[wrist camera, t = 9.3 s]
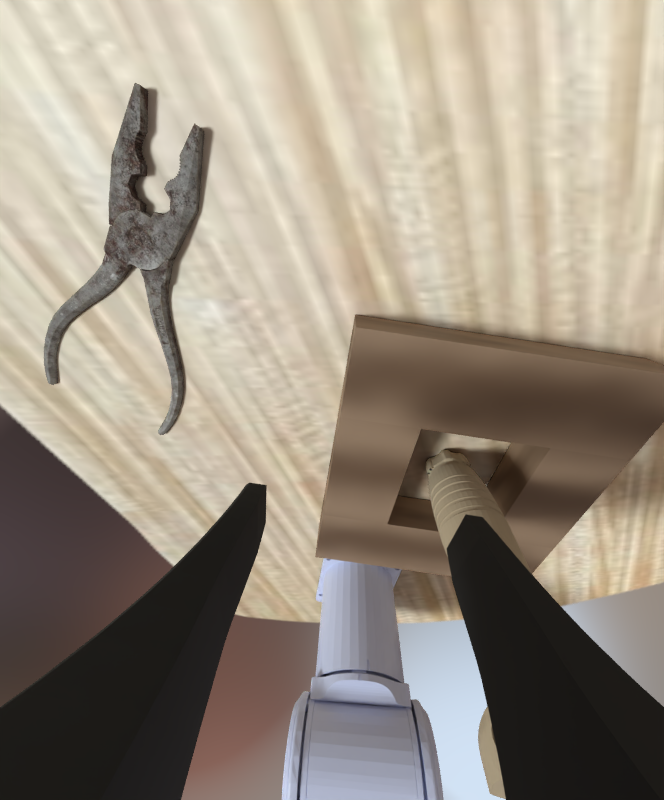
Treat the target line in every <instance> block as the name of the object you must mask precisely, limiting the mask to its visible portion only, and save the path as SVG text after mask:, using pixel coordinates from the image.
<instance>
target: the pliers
mask: <svg viewBox="0 0 664 800" xmlns="http://www.w3.org/2000/svg"><path fill="white" fill-rule="evenodd" d="M147 110H148V91H147V90H146V89H145V88H143V87H142V86H141V85H139V84H137V83H135V84H134V87H133V90H132V94H131V97H130V100H129V103H128V106H127V109H126V113H125V116H124V119H123V122H122V125H121V129H120V132H119V135H118V138H117V141H116V144H115V148H114V151H113V154H112V163H111V178H110V193H109V224H110V225H112V226H110V227H109V231H108V235H107V239H106V242H105V246H104V251H105V252H106V253H105V256H104V260H103V263H102V265H101V266H100V268H99V269H98V270H97V272H96V273H95V274H94V275H93V277H92V278H91V279H90V280H89V281H88V282H87V283H86V284H85V285H84V286H83V287H82V288H80V289H79V290H78V291H77V292H76V293H75V294H74V295H73V296H72V297H71V298H70V299H69V300H68V301H66V302H65V303H64V304H63V305H62V306H61V307H60V309H59V310H58V311H57V312H56V313H55V315H54V316H53V318H52V320H51V322H50V324H49V326H48V330H47V334H46V338H45V346H44V366H45V372H46V377H47V380H48V383H49V384H52V385H54V384H56V383H57V382H58V377H57V368H56V353H57V349H58V344H59V341H60V338H61V335H62V333H63V331H64V330H65V328H66V327H67V325H68V324H69V323H70V322H71V321H72V320H73V319H74V318H75V317H77V316H78V315H79V314H81V313H82V312H83V311H84V310H86V309H87V308H89V307H90V306H91V305H93V304H94V303H96V302H97V301H99V300H100V299H102V298H103V297H105V296H106V295H107V294H109V293H110V292H111V291H112V290H114V289H115V288H116V286H117V285H118V284H119V283H120V282H121V281H122V280H123V279H124V277H125V276H126V275H127V273H128V272H129V271H130V270H131V268H132V265H134V266H136V267H137V268H139V269H140V270H141V273H142V276H143V278H144V282H145V287H146V292H147V297H148V302H149V307H150V312H151V315H152V319H153V322H154V325H155V328H156V331H157V334H158V337H159V339H160V342H161V345H162V349H163V352H164V355H165V358H166V361H167V365H168V368H169V372H170V376H171V384H172V396H171V403H170V408H169V412H168V414H167V416H166V419H165V420H164V422H163V423H162V425H161V427H160V428H159V430H158V433H159V434H160V435H164V434H165V433H166V432H167V431H168V430H169V429H170V427H171V426H172V425H173V423H174V421H175V419H176V417H177V415H178V413H179V410H180V406H181V403H182V397H183V373H182V366H181V362H180V357H179V353H178V349H177V345H176V340H175V336H174V332H173V328H172V323H171V317H170V311H169V303H168V293H169V284H170V277H171V271H172V265H173V259H175V257H176V255H177V253H178V251H179V249H180V247H181V245H182V243H183V241H184V239H185V237H186V235H187V233H188V230H189V228H190V226H191V224H192V222H193V220H194V218H195V216H196V214H197V212H198V209H199V195H200V181H201V167H202V153H203V139H204V131H203V130H202V129H201V128H200V127H199V126H197V125H196V124H195V123H194V126H193V128H192V130H191V132H190V134H189V136H188V139H187V141H186V143H185V145H184V147H183V149H182V152H181V154H180V161H181V162H180V169H179V170H180V171H179V174H177V176H176V178H174V179H172V180H170V181H168V182H167V184H166V186H165V188H164V189H165V191H166V193H167V195H168V196H169V198H170V211H168V212H167V213H165V214H161V213H156V212H153V215H152V216H151V215H150V214H148V213H146V204H145V203H144V202H143V201H142V200H141V199H140V198H139V197H138V195H137V192H136V189H135V186H134V185H135V183H136V180H137V178H138V177H141V176H147V165H146V164H145V163H146V162H145V161H144V158H143V155H142V153H143V152H142V151H141V150H142V148H141V147H142V145H141V144H143V143H142V141H143V139H144V136H146V134H147ZM140 211H141V212H140Z"/></svg>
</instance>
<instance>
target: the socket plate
mask: <svg viewBox="0 0 664 800" xmlns="http://www.w3.org/2000/svg"><path fill="white" fill-rule="evenodd" d="M663 422H664V365H662V364H659V363H657V362H654V361H651V360H649V359H645V358H638V357H632V356H625V355H618V354H612V353H605V352H599V351H592V350H585V349H579V348H572V347H566V346H559V345H552V344H546V343H539V342H532V341H526V340H519V339H513V338H506V337H499V336H493V335H486V334H480V333H473V332H466V331H460V330H453V329H446V328H440V327H433V326H427V325H420V324H413V323H407V322H400V321H394V320H387V319H380V318H374V317H367V316H361V315H355V319H354V325H353V331H352V337H351V343H350V348H349V354H348V360H347V366H346V372H345V378H344V384H343V389H342V395H341V401H340V407H339V413H338V419H337V425H336V430H335V436H334V442H333V448H332V454H331V460H330V465H329V471H328V477H327V483H326V489H325V495H324V501H323V506H322V512H321V518H320V524H319V531H318V540H317V548H316V556H315V557H319V558H326V559H333V560H340V561H347V562H354V563H361V564H368V565H375V566H382V567H389V568H396V569H402V570H409V571H416V572H423V573H430V574H437V575H444V576H451V572H450V567H449V561H448V557H447V554H446V552H445V549H444V546H443V544H442V541H441V538H440V535H439V531H438V528H437V525H436V521H435V517H434V513H433V509H432V505H431V501H429V500H423V499H416V498H409V497H402V496H397V495H398V493H399V490H400V487H401V484H402V481H403V479H404V476H405V473H406V470H407V467H408V465H409V462H410V459H411V456H412V453H413V451H414V448H415V445H416V442H417V439H418V437H419V434H420V431H421V429H424V430H431V431H438V432H445V433H451V434H458V435H465V436H472V437H478V438H485V439H492V440H499V441H505V442H512V443H511V445H510V446H509V448H508V450H507V452H506V453H505V455H504V457H503V459H502V460H501V462H500V464H499V466H498V467H497V469H496V471H495V473H494V474H493V476H492V478H491V480H490V481H489V483H488V485H487V488H488V490H489V492H490V493H491V494H492V496H493V497H494V499H495V501H496V503H497V504H498V506H499V508H500V510H501V511H502V513H503V515H504V517H505V519H506V520H507V522H508V524H509V526H510V528H511V530H512V533H513V535H514V537H515V539H516V541H517V543H518V545H519V547H520V549H521V552H522V554H523V556H524V558H525V560H526V562H527V564H528V566H529V568H530V570H531V573H533V572H534V571H535V569H536V568H537V567H538V566H539V565H540V564H541V563H542V561H543V560H544V559H545V558H546V557H547V556H548V555H549V553H550V552H551V551H552V550H553V549H554V548H555V546H556V545H557V544H558V543H559V542H560V541H561V540H562V538H563V537H564V536H565V535H566V534H567V533H568V532H569V530H570V529H571V528H572V527H573V526H574V525H575V523H576V522H577V521H578V520H579V519H580V518H581V517H582V515H583V514H584V513H585V512H586V511H587V510H588V508H589V507H590V506H591V505H592V504H593V503H594V502H595V500H596V499H597V498H598V497H599V496H600V495H601V494H602V492H603V491H604V490H605V489H606V488H607V487H608V485H609V484H610V483H611V482H612V481H613V480H614V479H615V477H616V476H617V475H618V474H619V473H620V472H621V471H622V469H623V468H624V467H625V466H626V465H627V464H628V462H629V461H630V460H631V459H632V458H633V457H634V456H635V454H636V453H637V452H638V451H639V450H640V449H641V448H642V446H643V445H644V444H645V443H646V442H647V441H648V439H649V438H650V437H651V436H652V435H653V434H654V433H655V431H656V430H657V429H658V428H659V427H660V426H661V425H662V423H663Z"/></svg>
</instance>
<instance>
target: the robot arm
mask: <svg viewBox="0 0 664 800" xmlns="http://www.w3.org/2000/svg"><path fill="white" fill-rule="evenodd" d="M265 523H266V485H261V484H254V483H248V484H247V485H246V486H245V487H244V489H243V490H242V491H241V493H240V494H239V495H238V497H237V498H236V499H235V500H234V502H233V503H232V504H231V505H230V507H229V508H228V509H227V510H226V511H225V513H224V514H223V515H222V516H221V517H220V518H219V519H218V521H217V522H216V523H215V524H214V525H213V526H212V527H211V528H210V530H209V531H208V532H207V533H206V534H205V535H204V536H203V537H202V538H201V539H200V541H199V542H198V543H197V544H196V545H195V546H194V547H193V548H192V549H191V550H190V551H189V552H188V553H187V554H186V555H185V556H184V557H183V558H182V559H181V560H180V561H179V562H178V563H177V564H176V565H175V566H174V567H173V568H172V569H171V570H170V571H169V572H168V573H167V574H166V575H165V576H163V578H161V579H160V580H159V581H158V582H157V583H156V584H155V585H154V586H153V587H152V588H151V589H149V590H148V591H147V592H146V593H145V594H144V595H143V596H142V597H140V598H139V599H138V600H137V601H136V602H135V603H134V604H132V605H131V606H130V607H129V608H128V609H127V610H125V611H124V612H123V613H122V614H121V615H119V616H118V617H117V618H116V619H115V620H114V621H112V622H111V623H110V624H109V625H108V626H106V627H105V628H104V629H103V630H101V631H100V632H99V633H98V634H97V635H95V636H94V637H93V638H91V639H90V640H89V641H88V642H86V643H85V644H84V645H83V646H81V647H80V648H79V649H77V650H76V651H75V652H74V653H72V654H71V655H70V656H68V657H67V658H66V659H65V660H63V661H62V662H61V663H59V664H58V665H57V666H56V667H54V668H53V669H52V670H50V671H49V672H48V673H47V674H45V675H44V676H43V677H41V678H40V679H39V680H37V681H36V682H35V683H33V684H32V685H30V686H29V687H28V688H26V689H25V690H24V691H22V692H21V693H19V694H18V695H17V696H16V697H14V698H12V699H11V700H10V701H8V702H7V703H6V704H4V705H3V706H2V707H0V800H181V797H182V793H183V790H184V786H185V782H186V778H187V775H188V771H189V767H190V763H191V760H192V756H193V753H194V749H195V745H196V742H197V737H198V734H199V731H200V727H201V723H202V720H203V716H204V713H205V709H206V706H207V702H208V699H209V695H210V691H211V688H212V685H213V681H214V678H215V674H216V670H217V667H218V664H219V660H220V657H221V653H222V650H223V647H224V643H225V640H226V637H227V634H228V631H229V628H230V625H231V622H232V620H233V617H234V614H235V612H236V609H237V606H238V604H239V601H240V598H241V596H242V593H243V590H244V588H245V585H246V582H247V580H248V577H249V574H250V572H251V569H252V566H253V564H254V561H255V558H256V555H257V553H258V549H259V546H260V542H261V538H262V534H263V531H264V527H265ZM447 555H448V561H449V567H450V572H451V577H452V581H453V585H454V588H455V592H456V595H457V598H458V602H459V605H460V608H461V611H462V615H463V618H464V621H465V624H466V628H467V631H468V634H469V637H470V641H471V644H472V646H473V650H474V654H475V657H476V660H477V664H478V667H479V671H480V675H481V679H482V683H483V688H484V692H485V696H486V701H487V706H488V710H489V715H490V719H491V724H492V729H493V734H494V739H495V744H496V749H497V754H498V759H499V764H500V769H501V775H502V780H503V786H504V791H505V797H506V800H664V707H663V706H662V705H661V704H660V703H659V702H657V701H656V700H655V699H654V698H653V697H652V696H651V695H650V694H649V693H647V692H646V691H645V690H644V689H643V688H642V687H641V686H640V685H639V684H638V683H636V682H635V680H633V679H632V678H631V677H630V676H629V675H628V674H627V673H626V672H625V671H624V670H623V669H622V668H621V667H620V666H619V665H618V664H617V663H616V662H615V661H614V660H613V659H612V658H611V657H610V656H609V655H607V654H606V653H605V652H604V651H603V650H602V649H601V648H600V647H599V646H598V645H597V644H596V643H595V642H594V641H593V640H592V639H591V638H590V637H589V636H588V635H587V634H586V633H585V632H584V631H583V630H582V629H581V628H580V627H579V625H578V624H577V623H576V622H575V621H574V620H573V619H572V618H571V617H570V616H569V615H568V614H567V613H566V612H565V611H564V610H563V608H562V607H561V606H560V605H559V604H558V603H557V602H556V601H555V600H554V599H553V598H552V597H551V595H550V594H549V593H548V592H547V591H546V590H545V589H544V588H543V587H542V585H541V584H540V583H539V582H538V581H537V580H536V579H535V578H534V576H533V575H532V574H531V573H530V572H529V571H528V570H527V568H526V567H525V566H524V565H523V564H522V563H521V561H520V560H519V559H518V558H517V557H516V556H515V554H514V553H513V552H512V551H511V550H510V548H509V547H508V546H507V545H506V544H505V543H504V541H503V540H502V539H501V538H500V537H499V535H498V534H497V533H496V532H495V531H494V530H493V528H492V527H491V526H490V525H489V524H488V523H487V521H486V520H485V519H484V518H483V517H480V516H473V515H465V516H464V518H463V520H462V522H461V524H460V525H459V527H458V529H457V531H456V533H455V534H454V536H453V538H452V540H451V542H450V543H449V545H448V547H447ZM401 570H402V569H396V568H389V567H382V566H375V565H368V564H361V563H354V562H347V561H340V560H333V559H326V558H324V559H323V564H322V569H321V574H320V579H319V584H318V589H317V594H316V600H317V601H320V602H322V609H321V621H320V633H319V644H318V656H317V668H316V677H312V681H311V691H310V692H307V691H304V692H303V693H302V694H301V697H300V698H299V699H298V700H297V702H296V703H295V706H294V708H293V712H292V717H291V722H290V727H289V733H288V740H287V747H286V756H285V764H284V775H283V776H284V777H283V789H282V800H443V791H442V783H441V775H440V768H439V763H438V756H437V751H436V745H435V740H434V736H433V731H432V727H431V723H430V720H429V717H428V715H427V713H426V711H425V710H424V709H423V707H422V706H421V704H420V702H419V701H418V700H411V699H410V691H409V685H408V684H406V683H404V676H403V668H402V660H401V651H400V643H399V634H398V626H397V617H396V609H395V600H394V592H393V588H394V586H395V584H396V581H397V579H398V577H399V575H400V573H401Z"/></svg>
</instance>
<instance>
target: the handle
mask: <svg viewBox="0 0 664 800" xmlns="http://www.w3.org/2000/svg"><path fill="white" fill-rule="evenodd" d="M470 465H471V464H470V462H469V461H468V460H467V459H466V457H465V456H464V455H463V454H461V453H452V452H450V451H449V450H443V451H441V452H440V453H439V454H438V455H436V456H435V457H432V458H429V459H428V460H427V462H426V471H427V474H428V480H429V481H428V487H429V494H430V500H431V505H432V509H433V513H434V517H435V521H436V525H437V528H438V531H439V535H440V538H441V541H442V544H443V546H444V549H445V552H446V554H447V547H448V545H449V543H450V542H451V540H452V538H453V536H454V534H455V533H456V531H457V529H458V527H459V525H460V524H461V522H462V520H463V518H464V516H465V515H473V516H480V517H483V518H484V519H485V520H486V521H487V523H488V524H489V525H490V526H491V527H492V528H493V530H494V531H495V532H496V533H497V534H498V535H499V537H500V538H501V539H502V540H503V541H504V543H505V544H506V545H507V546H508V547H509V548H510V550H511V551H512V552H513V553H514V554H515V556H516V557H517V558H518V559H519V560H520V561H521V563H522V564H523V565H524V566H525V567H526V568H527V570H528V571H529V572H530V573H531V570H530V568H529V566H528V564H527V562H526V560H525V558H524V556H523V554H522V552H521V549H520V547H519V545H518V543H517V541H516V539H515V537H514V535H513V533H512V530H511V528H510V526H509V524H508V522H507V520H506V519H505V517H504V515H503V513H502V511H501V510H500V508H499V506H498V504H497V503H496V501H495V499H494V497H493V496H492V494H491V493H490V492H489V490H488V488H487V487H486V485H485V484H484V482H483V481H482V480H481V478H480V477H479V476H478V475H477V474H476V472H475V471H474V470H473V469H472V468H471V467H470ZM447 557H448V555H447ZM531 574H532V573H531ZM478 741H479V750H480V755H481V759H482V763H483V768H484V771H485V776H486V780H487V783H488V788H489V792H490V794H492V795H495V796H497V797H500V798H504V799H506V797H505V791H504V786H503V780H502V775H501V769H500V764H499V759H498V754H497V749H496V744H495V739H494V734H493V729H492V724H491V719H490V715H489V710H488V707H487V708H486V710H485V711H484V714H483V716H482V719H481V722H480V726H479V734H478Z"/></svg>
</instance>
